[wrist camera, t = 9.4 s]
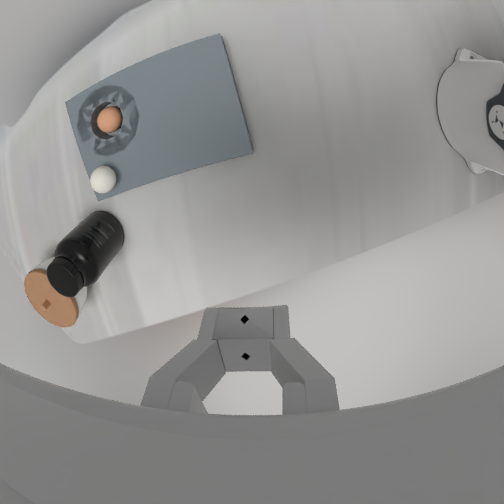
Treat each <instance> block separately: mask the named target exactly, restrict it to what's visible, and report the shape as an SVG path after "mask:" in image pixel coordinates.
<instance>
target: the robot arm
mask: <svg viewBox="0 0 504 504" xmlns="http://www.w3.org/2000/svg"><path fill="white" fill-rule="evenodd" d="M470 57H471V59H470ZM437 107H438V115H439V119H440V123H441V126H442V129H443V132H444V134H445V136H446V138H447V140H448V141H449V143H450V144H451V146H452V147H453V148H454V149H455V150H456V151H457V152H458V153H459V154H460V155H461V156H463V157H464V159H465V160H466V162H467V164H468V167H469V169H470V170H471V172H473V173H475V174H481V173H483V172H486V171H488V170H491V171H493V172H496V173H498V174H501V175H503V176H504V62H502V61H497V60H488V59H486V58H485V57H483V56H481V55H479V54H477V53H475V52H472V51H470V50H468V49H465V48H460V49H458V51H457V54H456V57H455V61H454V63H453V64H452V65H451V66H450V67H449V68H448V69H447V70H446V71H445V72H444V74H443V76H442V78H441V80H440V83H439V87H438V94H437ZM229 371H230V372H231V371H232V372H233V371H272V373H273V375H274V376H275V378H276V379H277V380H278V382H279V383H280V385H281V386H282V388H283V414H282V415H220V414H208V413H207V411H206V409H205V407H204V405H203V403H202V401H203V400H204V399H205V398H206V396H207V395H208V394H209V393H210V391H211V390H212V389H213V388H214V387H215V385H216V384H217V383H218V382H219V381H220V379H221V378H222V377H223V376H224V374H225V373H226V372H229ZM0 504H504V365H503V366H501V367H499V368H497V369H494V370H492V371H490V372H487V373H484V374H482V375H479V376H477V377H474V378H471V379H469V380H466V381H463V382H460V383H457V384H454V385H451V386H448V387H445V388H442V389H438V390H435V391H432V392H428V393H424V394H420V395H417V396H412V397H409V398H404V399H400V400H395V401H391V402H386V403H381V404H375V405H370V406H364V407H358V408H351V409H343V410H339V404H338V397H337V391H336V384H335V379H334V377H333V376H332V375H331V374H330V373H328V371H326V370H325V368H324V367H322V365H321V364H320V363H319V362H318V361H317V360H316V359H315V358H314V357H312V355H311V354H310V353H308V351H307V350H306V349H305V348H304V347H303V346H301V344H300V343H299V342H298V341H297V340H296V339H295V338H290V327H289V313H288V306H287V305H282V306H274V309H273V306H268V307H247V308H206V309H205V311H204V315H203V319H202V323H201V327H200V331H199V335H198V338H197V340H193V341H191V342H190V343H189V344H188V345H187V346H186V347H184V348H183V349H182V350H181V351H180V352H179V353H177V354H176V355H175V356H174V357H173V358H172V359H170V361H168V362H167V363H166V364H165V365H164V366H162V367H161V368H160V369H159V370H158V371H156V372H155V373H154V374H153V375H152V376H151V377H150V378H149V381H148V384H147V387H146V390H145V393H144V396H143V399H142V402H141V405H140V406H139V405H134V404H128V403H123V402H118V401H114V400H109V399H104V398H101V397H96V396H92V395H88V394H85V393H81V392H77V391H74V390H71V389H67V388H64V387H61V386H58V385H55V384H52V383H49V382H46V381H43V380H40V379H37V378H34V377H32V376H29V375H27V374H24V373H22V372H19V371H17V370H14V369H12V368H9V367H7V366H5V365H3V364H1V363H0Z"/></svg>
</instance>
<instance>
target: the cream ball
mask: <svg viewBox="0 0 504 504" xmlns="http://www.w3.org/2000/svg"><path fill="white" fill-rule="evenodd" d="M115 183H116V174H115V172H114V171H113V169H111V168H110V167H108V166H101V167H98V168H96V169H95V170H94V171H93V173H92V175H91V178H90V184H91V187H92V188H93V190H94V191H96V192H98V193H107V192H109V191H110V190H112V189H113V187H114V186H115Z"/></svg>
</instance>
